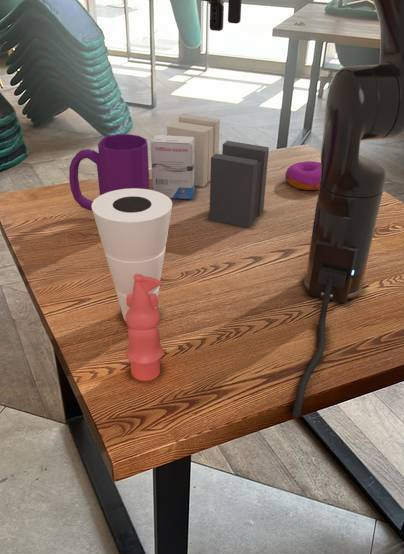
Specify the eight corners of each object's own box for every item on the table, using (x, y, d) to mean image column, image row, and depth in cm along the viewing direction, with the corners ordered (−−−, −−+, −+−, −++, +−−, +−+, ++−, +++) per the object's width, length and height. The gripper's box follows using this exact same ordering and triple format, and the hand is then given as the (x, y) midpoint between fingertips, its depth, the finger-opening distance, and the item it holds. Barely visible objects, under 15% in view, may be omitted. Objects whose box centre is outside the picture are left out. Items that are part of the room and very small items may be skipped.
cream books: (203, 187, 126) (204, 130, 118) (167, 180, 129) (166, 124, 121) (217, 174, 132) (219, 119, 124) (183, 168, 135) (183, 113, 127)
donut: (314, 173, 133) (317, 154, 130) (340, 189, 126) (343, 169, 123) (276, 180, 130) (278, 160, 127) (300, 197, 123) (303, 176, 120)
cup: (188, 317, 87) (188, 205, 76) (134, 346, 81) (125, 230, 70) (143, 289, 93) (137, 182, 82) (89, 315, 87) (75, 203, 76)
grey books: (249, 228, 111) (254, 161, 103) (208, 219, 114) (210, 154, 105) (263, 211, 117) (269, 147, 109) (224, 203, 120) (227, 140, 111)
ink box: (195, 191, 124) (195, 135, 117) (192, 200, 121) (192, 143, 113) (156, 188, 125) (154, 133, 118) (152, 198, 121) (150, 141, 114)
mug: (146, 230, 109) (142, 151, 100) (67, 225, 111) (56, 146, 101) (155, 210, 116) (152, 134, 107) (80, 205, 118) (71, 130, 108)
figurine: (165, 358, 79) (162, 263, 70) (165, 383, 75) (162, 285, 66) (128, 358, 79) (120, 263, 70) (126, 383, 75) (117, 285, 66)
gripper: (236, -90, 84) (230, 35, 94) (266, -91, 94) (258, 22, 105) (189, -91, 86) (189, 31, 97) (224, -92, 97) (220, 18, 107)
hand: (225, 26), depth 101 cm, fingers open, 8 cm apart
